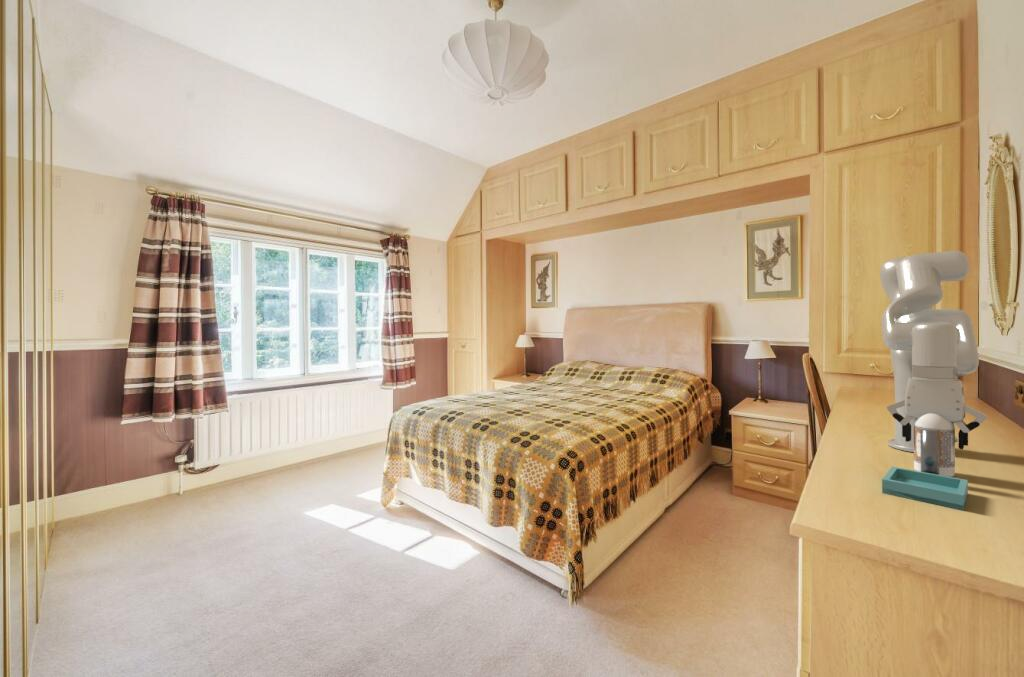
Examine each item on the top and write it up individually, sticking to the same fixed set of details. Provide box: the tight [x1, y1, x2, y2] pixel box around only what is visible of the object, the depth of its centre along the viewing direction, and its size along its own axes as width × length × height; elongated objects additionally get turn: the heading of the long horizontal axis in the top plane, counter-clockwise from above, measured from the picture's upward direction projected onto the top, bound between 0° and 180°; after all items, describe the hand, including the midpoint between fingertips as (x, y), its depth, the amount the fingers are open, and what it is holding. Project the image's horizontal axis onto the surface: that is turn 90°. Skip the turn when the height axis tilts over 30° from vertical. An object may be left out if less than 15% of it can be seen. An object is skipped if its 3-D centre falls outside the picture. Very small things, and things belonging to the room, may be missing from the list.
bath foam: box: [913, 413, 956, 477], centre depth 100 cm, size 7×7×20 cm
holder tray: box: [881, 466, 969, 512], centre depth 89 cm, size 12×12×3 cm
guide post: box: [921, 429, 939, 475], centre depth 95 cm, size 5×5×12 cm
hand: (933, 444), depth 100 cm, fingers open, 8 cm apart
